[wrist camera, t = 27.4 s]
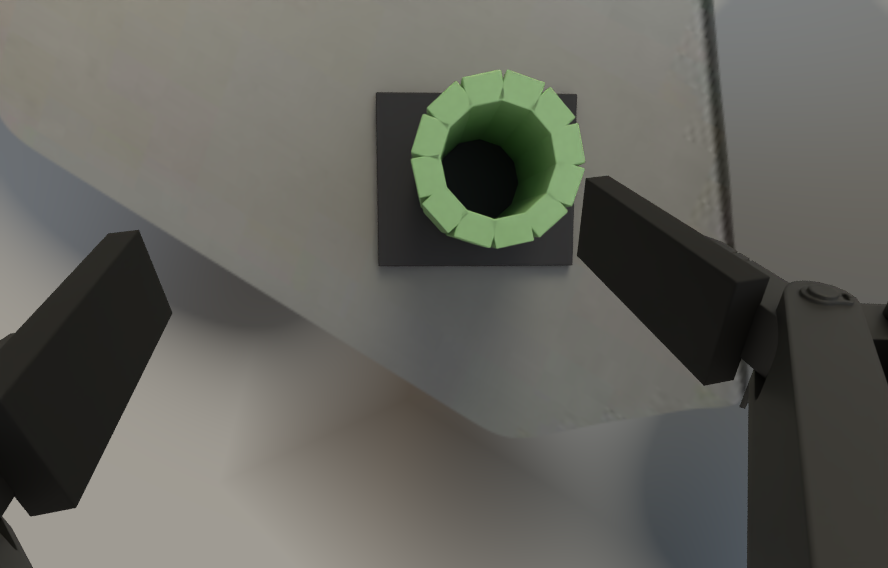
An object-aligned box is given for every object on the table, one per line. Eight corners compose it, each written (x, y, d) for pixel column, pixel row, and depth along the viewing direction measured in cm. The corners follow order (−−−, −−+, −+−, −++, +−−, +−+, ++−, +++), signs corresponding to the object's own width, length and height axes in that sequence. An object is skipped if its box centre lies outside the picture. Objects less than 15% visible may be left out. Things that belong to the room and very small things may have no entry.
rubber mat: (379, 265, 35) (378, 266, 34) (376, 94, 34) (375, 92, 33) (570, 264, 35) (572, 265, 35) (574, 96, 34) (577, 93, 34)
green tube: (391, 176, 34) (376, 153, 24) (482, 92, 33) (506, 33, 23) (472, 267, 35) (491, 281, 25) (562, 186, 34) (618, 167, 24)
